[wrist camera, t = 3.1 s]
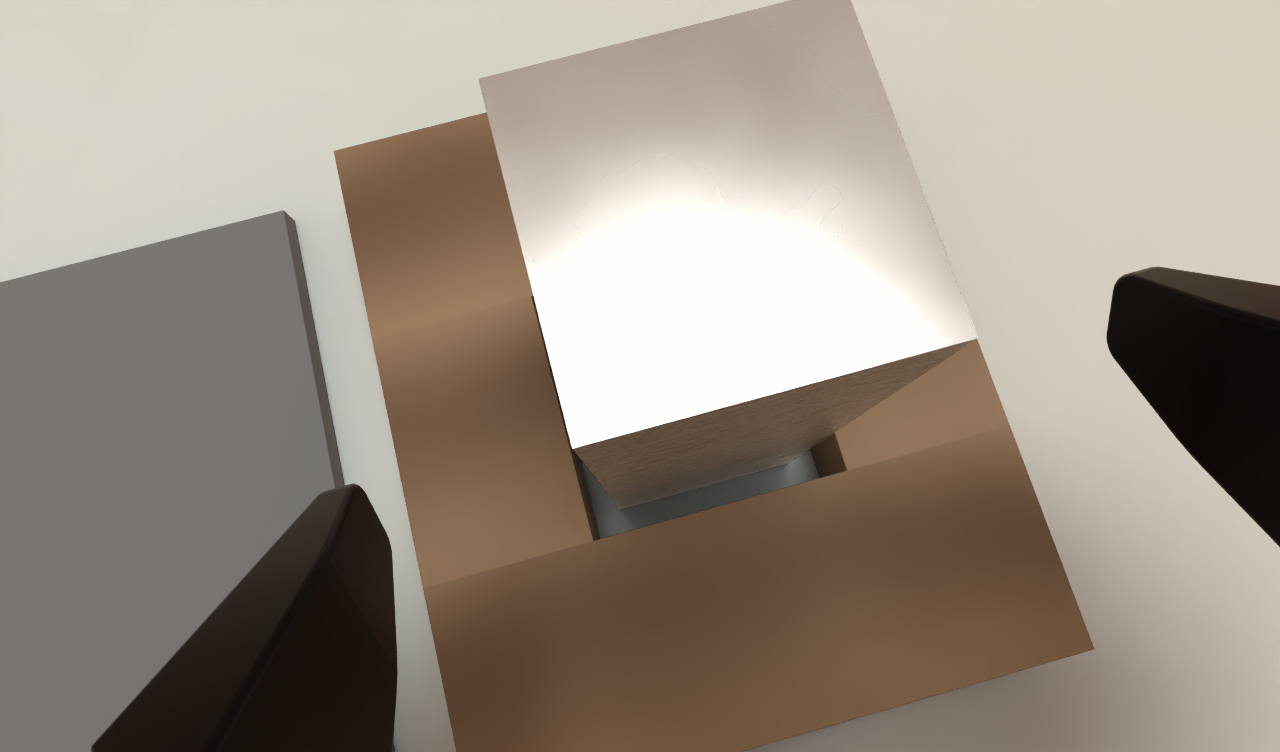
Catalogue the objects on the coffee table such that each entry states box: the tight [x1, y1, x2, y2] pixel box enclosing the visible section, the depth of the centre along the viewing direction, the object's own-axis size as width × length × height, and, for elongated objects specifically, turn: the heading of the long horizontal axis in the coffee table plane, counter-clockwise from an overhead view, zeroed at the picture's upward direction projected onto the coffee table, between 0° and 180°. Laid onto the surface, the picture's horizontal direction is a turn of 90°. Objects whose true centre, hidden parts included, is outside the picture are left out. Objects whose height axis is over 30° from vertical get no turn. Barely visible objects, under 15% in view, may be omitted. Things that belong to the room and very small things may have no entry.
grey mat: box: [0, 210, 395, 752], centre depth 18 cm, size 14×10×1 cm
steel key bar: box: [479, 0, 978, 510], centre depth 13 cm, size 4×4×11 cm
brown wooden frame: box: [334, 113, 1094, 752], centre depth 17 cm, size 14×12×2 cm
